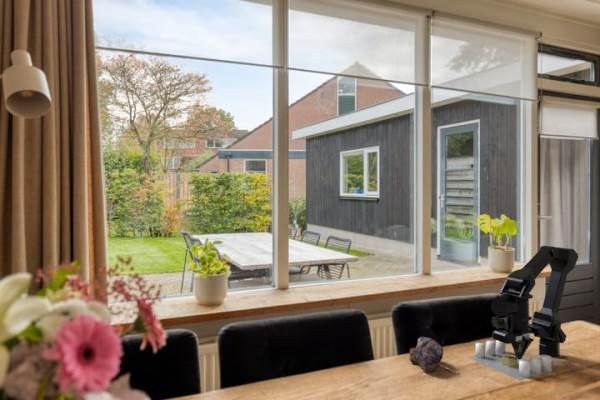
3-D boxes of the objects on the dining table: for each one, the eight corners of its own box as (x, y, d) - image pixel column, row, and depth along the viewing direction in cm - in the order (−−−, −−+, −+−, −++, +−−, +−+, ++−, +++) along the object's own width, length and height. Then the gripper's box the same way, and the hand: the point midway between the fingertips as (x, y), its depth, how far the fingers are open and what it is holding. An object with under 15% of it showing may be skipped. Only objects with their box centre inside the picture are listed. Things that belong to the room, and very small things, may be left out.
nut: (508, 360, 143) (508, 353, 143) (521, 366, 138) (521, 358, 138) (498, 362, 141) (498, 355, 141) (512, 368, 137) (512, 360, 137)
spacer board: (501, 352, 153) (501, 337, 153) (554, 373, 135) (554, 356, 135) (468, 360, 146) (468, 344, 146) (519, 383, 128) (519, 365, 128)
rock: (419, 377, 136) (449, 374, 137) (420, 353, 134) (450, 350, 135) (406, 358, 147) (433, 355, 148) (406, 335, 146) (434, 333, 147)
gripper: (517, 303, 153) (517, 346, 153) (479, 309, 145) (479, 355, 145) (546, 311, 143) (546, 357, 143) (507, 318, 135) (507, 367, 135)
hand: (519, 358), depth 142 cm, fingers closed
